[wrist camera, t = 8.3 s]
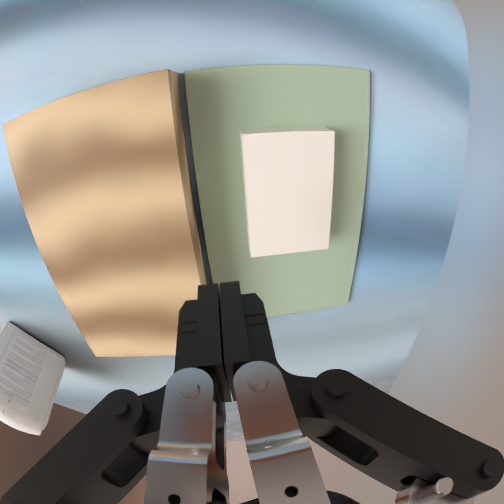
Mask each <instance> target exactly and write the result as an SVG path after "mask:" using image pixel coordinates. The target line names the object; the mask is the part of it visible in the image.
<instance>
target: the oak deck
mask: <svg viewBox="0 0 504 504" xmlns="http://www.w3.org/2000/svg"><path fill="white" fill-rule="evenodd" d="M3 128H4V134H5V139H6V144H7V149H8V153H9V158H10V162H11V166H12V170H13V174H14V178H15V181H16V185H17V188H18V192H19V195H20V198H21V202H22V205H23V208H24V211H25V214H26V217H27V219H28V222H29V225H30V228H31V230H32V233H33V236H34V238H35V241H36V243H37V246H38V248H39V251H40V253H41V255H42V258H43V260H44V262H45V264H46V267H47V269H48V271H49V273H50V275H51V277H52V280H53V282H54V284H55V286H56V288H57V290H58V292H59V294H60V296H61V298H62V300H63V301H64V303H65V305H66V307H67V309H68V311H69V313H70V314H71V316H72V318H73V320H74V321H75V323H76V325H77V327H78V328H79V330H80V332H81V333H82V335H83V337H84V338H85V340H86V342H87V343H88V345H89V346H90V348H91V349H92V351H93V353H94V354H95V356H96V357H130V356H161V355H176V342H177V334H178V333H177V329H178V317H179V310H180V309H181V307H182V306H183V304H184V302H185V301H186V300H196V299H197V296H198V285H204V284H208V283H207V278H206V272H205V267H204V262H203V256H202V250H201V245H200V239H199V233H198V227H197V221H196V215H195V209H194V202H193V196H192V189H191V182H190V175H189V168H188V161H187V154H186V146H185V138H184V130H183V121H182V113H181V104H180V94H179V84H178V73H176V72H173V71H171V70H168V69H167V70H162V71H156V72H151V73H147V74H142V75H138V76H133V77H129V78H125V79H121V80H117V81H114V82H110V83H106V84H103V85H100V86H96V87H93V88H90V89H87V90H84V91H81V92H78V93H75V94H72V95H69V96H66V97H64V98H61V99H58V100H56V101H53V102H51V103H48V104H46V105H43V106H41V107H39V108H36V109H34V110H32V111H30V112H27V113H25V114H23V115H21V116H19V117H17V118H15V119H13V120H11V121H9V122H7V123H5V124H3Z"/></svg>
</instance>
